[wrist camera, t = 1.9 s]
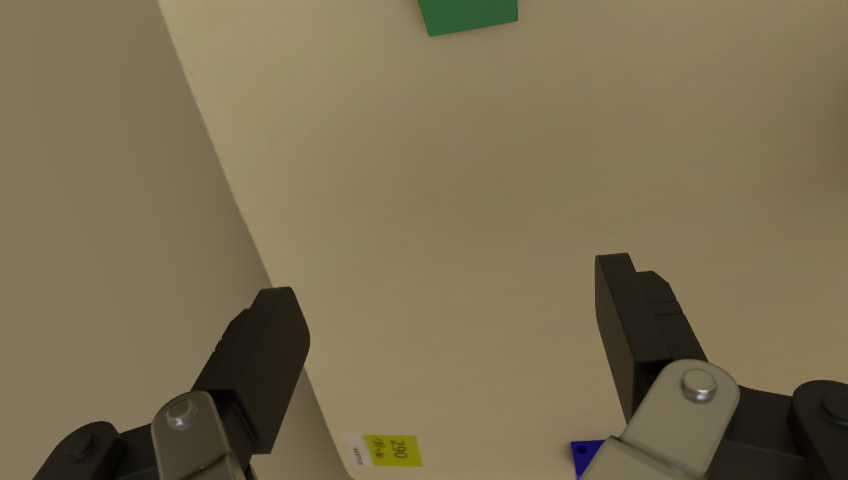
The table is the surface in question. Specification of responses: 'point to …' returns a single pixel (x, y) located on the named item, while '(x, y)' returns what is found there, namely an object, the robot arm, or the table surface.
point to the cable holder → (583, 455)
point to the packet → (465, 14)
